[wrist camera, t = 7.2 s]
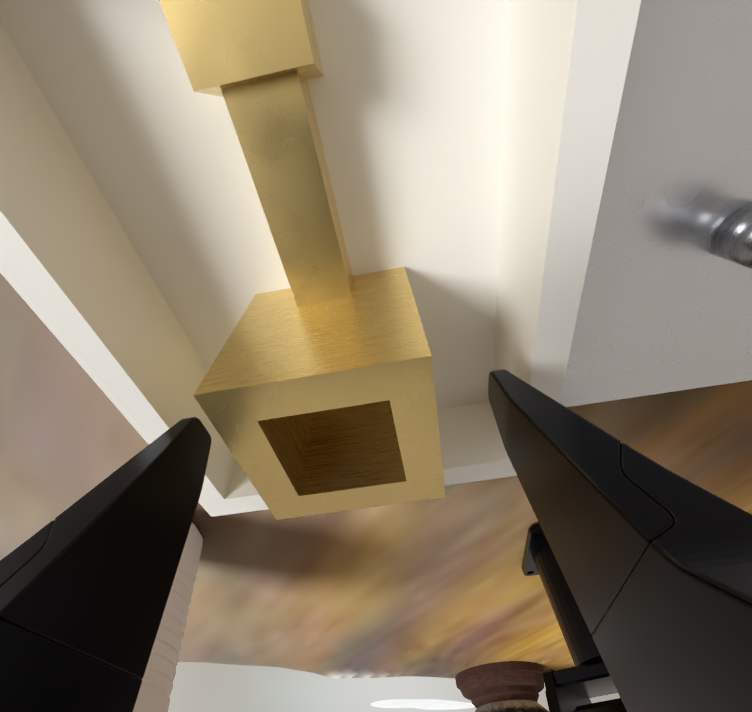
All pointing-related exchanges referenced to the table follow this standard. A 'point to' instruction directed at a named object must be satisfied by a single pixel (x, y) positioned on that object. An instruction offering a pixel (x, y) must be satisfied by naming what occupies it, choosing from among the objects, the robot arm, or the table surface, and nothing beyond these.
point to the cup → (170, 631)
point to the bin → (350, 187)
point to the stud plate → (673, 214)
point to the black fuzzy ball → (503, 686)
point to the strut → (307, 293)
